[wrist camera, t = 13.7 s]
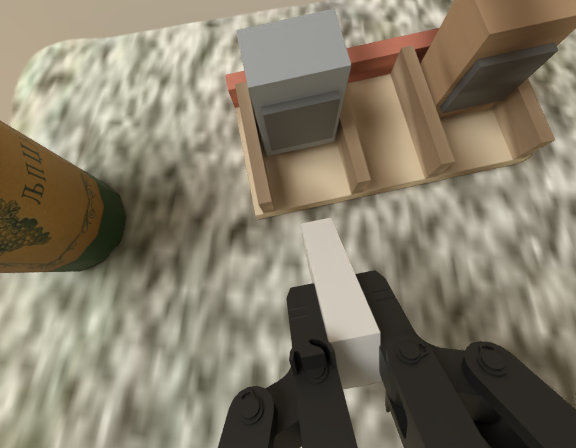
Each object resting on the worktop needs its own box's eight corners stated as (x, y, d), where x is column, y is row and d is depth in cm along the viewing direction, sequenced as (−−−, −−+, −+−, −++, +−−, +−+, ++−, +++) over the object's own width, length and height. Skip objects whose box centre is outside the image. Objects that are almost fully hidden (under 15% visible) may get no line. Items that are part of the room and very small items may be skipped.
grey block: (323, 102, 26) (334, 8, 17) (335, 147, 25) (354, 74, 16) (258, 116, 26) (236, 30, 17) (268, 162, 25) (249, 96, 16)
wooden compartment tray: (473, 51, 28) (505, 8, 24) (519, 162, 26) (564, 137, 21) (236, 103, 28) (223, 70, 24) (258, 219, 26) (249, 206, 21)
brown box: (475, 68, 26) (565, -43, 17) (493, 113, 25) (598, 20, 16) (410, 82, 26) (466, -21, 17) (425, 127, 25) (493, 43, 16)
